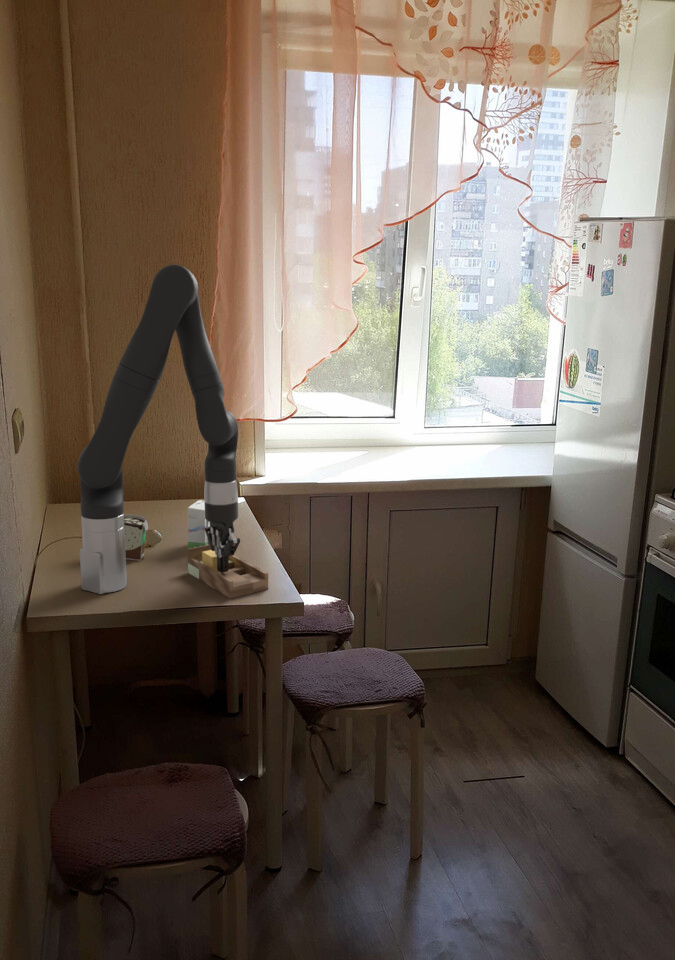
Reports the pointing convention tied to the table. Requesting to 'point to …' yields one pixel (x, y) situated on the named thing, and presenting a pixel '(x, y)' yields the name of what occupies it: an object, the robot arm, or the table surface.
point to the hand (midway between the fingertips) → (223, 571)
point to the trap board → (230, 575)
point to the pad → (195, 570)
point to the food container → (135, 536)
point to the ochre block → (209, 559)
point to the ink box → (197, 525)
